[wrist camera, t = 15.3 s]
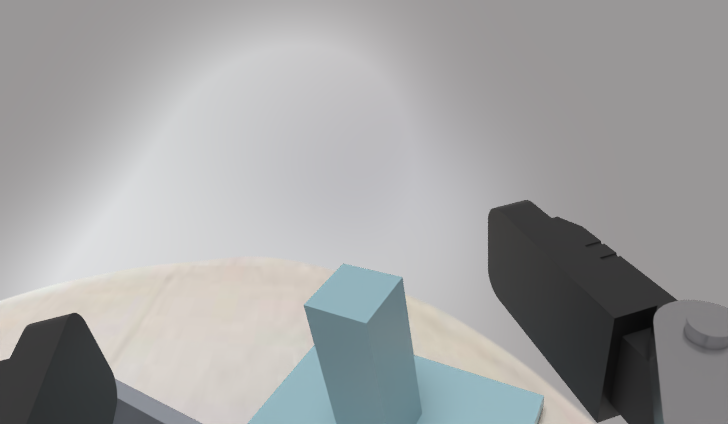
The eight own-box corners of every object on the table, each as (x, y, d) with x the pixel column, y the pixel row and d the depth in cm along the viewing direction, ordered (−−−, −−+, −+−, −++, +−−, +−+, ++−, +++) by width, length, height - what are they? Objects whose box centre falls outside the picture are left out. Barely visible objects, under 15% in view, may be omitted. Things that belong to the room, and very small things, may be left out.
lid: (222, 465, 29) (157, 327, 24) (330, 336, 37) (299, 211, 32) (476, 608, 21) (461, 448, 16) (543, 405, 29) (548, 254, 24)
